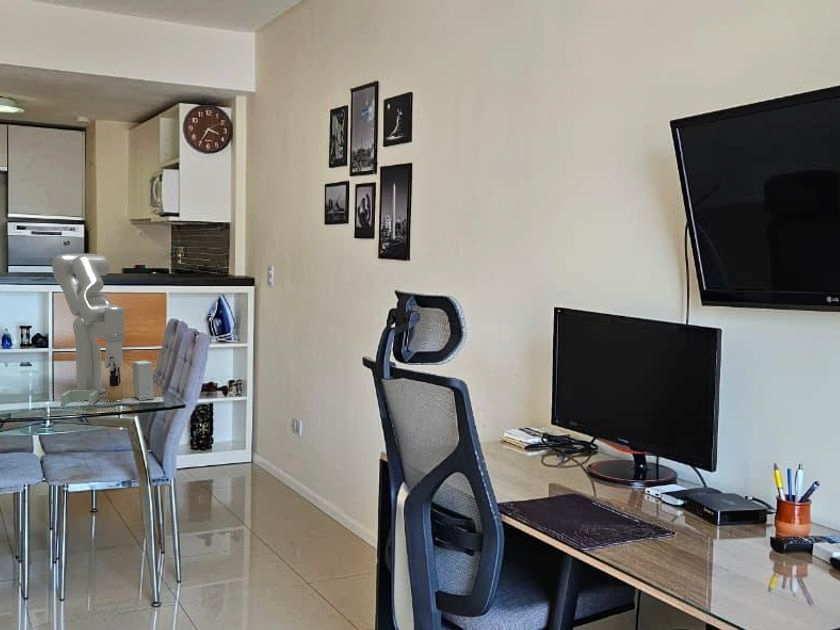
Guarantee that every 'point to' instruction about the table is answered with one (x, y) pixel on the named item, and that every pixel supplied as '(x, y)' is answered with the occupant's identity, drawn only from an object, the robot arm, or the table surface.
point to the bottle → (115, 391)
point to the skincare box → (143, 380)
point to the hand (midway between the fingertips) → (115, 384)
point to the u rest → (80, 396)
